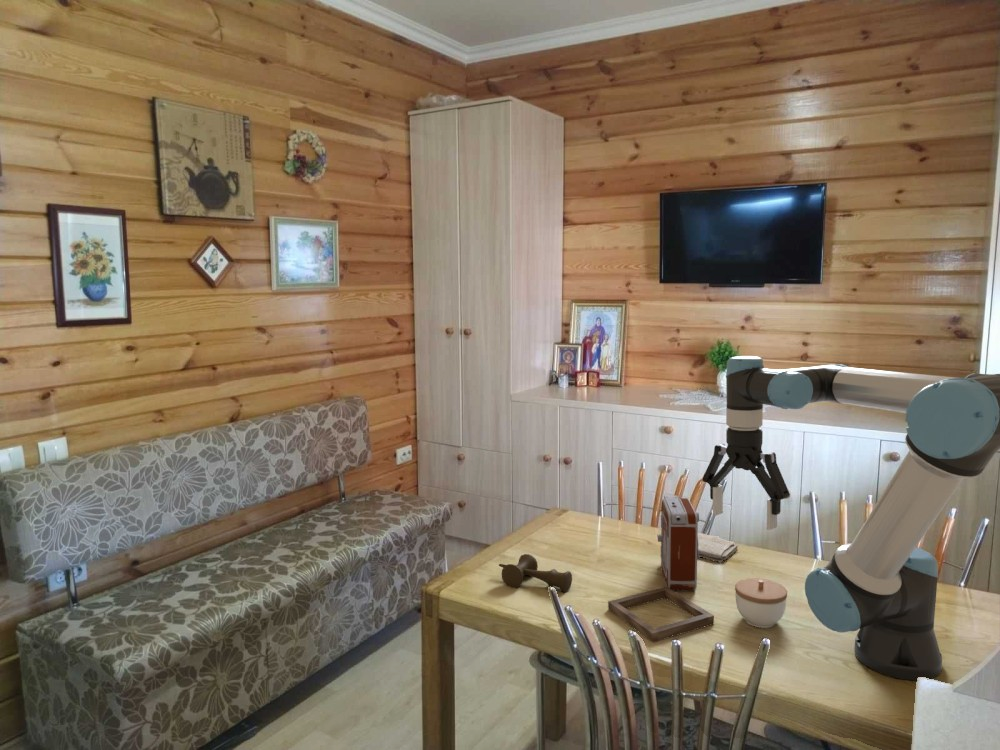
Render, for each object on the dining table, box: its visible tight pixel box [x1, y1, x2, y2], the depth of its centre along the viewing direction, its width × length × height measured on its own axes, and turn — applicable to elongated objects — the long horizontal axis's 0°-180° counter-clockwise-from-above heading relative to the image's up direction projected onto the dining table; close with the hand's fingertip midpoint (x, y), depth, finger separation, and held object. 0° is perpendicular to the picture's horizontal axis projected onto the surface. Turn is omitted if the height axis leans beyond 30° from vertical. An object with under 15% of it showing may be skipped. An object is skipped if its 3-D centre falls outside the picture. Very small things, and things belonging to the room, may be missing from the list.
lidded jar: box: [734, 577, 788, 629], centre depth 158 cm, size 11×11×9 cm
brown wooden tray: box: [607, 585, 715, 643], centre depth 162 cm, size 16×16×2 cm
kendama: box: [498, 553, 573, 593], centre depth 180 cm, size 6×10×20 cm
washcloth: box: [698, 532, 739, 563], centre depth 199 cm, size 12×18×3 cm, turn 52°
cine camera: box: [656, 494, 700, 592], centre depth 181 cm, size 9×19×20 cm, turn 174°
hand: (743, 521), depth 160 cm, fingers open, 13 cm apart
